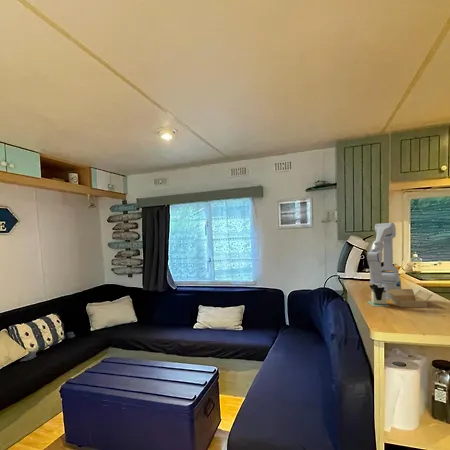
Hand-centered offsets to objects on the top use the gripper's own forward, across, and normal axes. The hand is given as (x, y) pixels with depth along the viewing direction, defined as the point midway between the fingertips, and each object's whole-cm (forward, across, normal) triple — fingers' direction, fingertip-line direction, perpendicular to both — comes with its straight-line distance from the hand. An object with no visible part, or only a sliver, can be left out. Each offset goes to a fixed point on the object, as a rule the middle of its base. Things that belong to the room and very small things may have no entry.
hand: (377, 299), depth 160 cm
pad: (+3, 0, 0) cm, 3 cm away
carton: (+3, -1, +14) cm, 15 cm away
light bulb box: (+3, -29, +16) cm, 33 cm away
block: (+2, 0, 0) cm, 2 cm away
